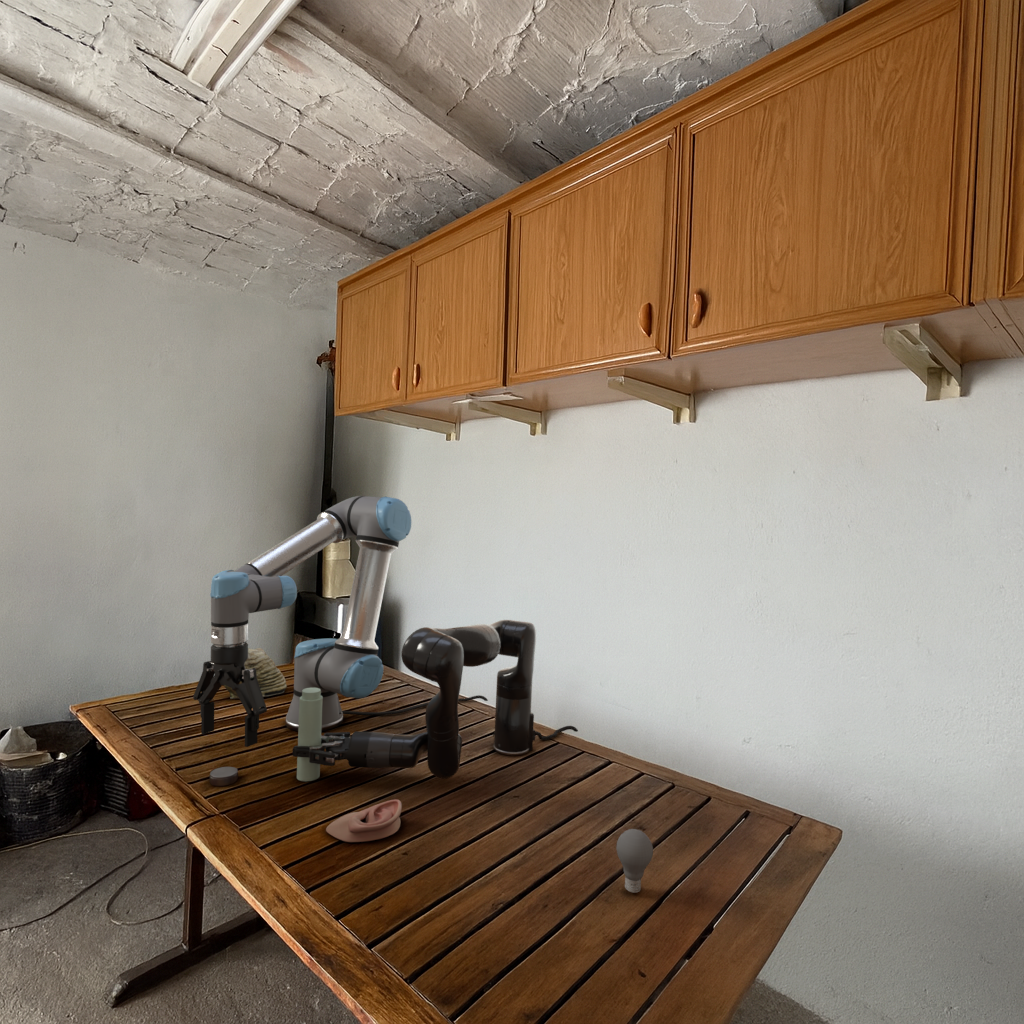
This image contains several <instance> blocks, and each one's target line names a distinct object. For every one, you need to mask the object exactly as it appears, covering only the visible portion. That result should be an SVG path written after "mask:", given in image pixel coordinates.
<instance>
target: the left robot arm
mask: <svg viewBox="0 0 1024 1024" xmlns="http://www.w3.org/2000/svg"><path fill="white" fill-rule="evenodd" d="M411 529H412V514H411V512H410V510H409V508H408V505H407V504H406V503H405V502H404V501H402V500H401V499H399V498H397V497H390V496H366V495H357V496H352V497H348V498H346V499H344V500H342V501H340V502H337V503H336V504H333V505H332V506H331V507H329V508H326V509H325V510H323V511H322V512H320V513H319V514H318V515H317V516H316V520H314V521H313V522H311V523H309V524H308V525H307V526H305V527H303V528H301V529H300V530H298V531H296V532H295V533H293V534H291V535H290V536H289V537H287V538H285V539H284V540H282V541H281V542H279V543H277V544H275V545H274V546H272V547H271V548H269V549H268V550H265V551H264V552H263V553H261V554H259V555H258V556H256V557H255V558H253V559H251V560H249V561H248V562H246V563H245V564H243V565H241V566H240V567H238V568H236V569H226V570H222V571H220V572H218V573H215V574H214V575H213V576H212V578H211V583H210V592H209V593H210V594H209V596H210V643H211V644H212V645H211V646H210V660H207V661H204V662H203V664H202V672H201V675H200V678H199V679H198V682H197V686H196V688H195V690H194V693H193V696H192V698H193V700H194V701H198V705H199V706H200V710H199V711H200V718H201V723H200V724H201V727H200V729H201V733H200V734H201V735H206V734H209V733H211V732H214V731H215V702H214V700H215V699H214V698H215V696H216V695H217V694H218V692H219V690H221V688H222V686H223V687H224V685H226V686H228V687H231V688H232V690H233V691H236V693H237V695H238V697H239V698H238V699H239V700H240V703H241V705H242V706H243V709H244V710H245V712H246V713H247V715H245V716H244V747H245V748H249V747H251V746H253V745H255V744H257V743H258V730H259V728H260V715H262V714H265V713H267V712H268V709H267V706H266V702H265V699H264V697H263V696H262V692H261V689H260V686H259V683H258V680H257V674H256V669H255V668H252V669H246V668H245V665H244V664H245V661H246V660H247V659H248V648H249V644H248V641H249V618H250V617H249V615H250V614H254V613H260V612H266V611H270V610H272V611H273V610H281V609H283V608H287V607H290V606H292V605H293V604H294V603H295V601H296V599H297V597H298V594H297V593H298V588H297V584H296V582H295V580H294V579H293V577H291V576H289V575H285V574H287V573H288V572H290V571H291V570H293V569H294V568H296V567H298V566H299V565H301V564H302V563H304V562H306V561H307V560H308V559H310V558H311V557H313V556H314V555H316V554H317V553H319V552H320V551H322V550H323V549H325V548H327V547H328V546H330V545H331V544H339V543H341V542H342V541H343V540H346V539H350V538H354V537H356V538H355V542H356V544H357V545H358V547H359V551H358V556H357V560H356V565H355V566H356V567H355V571H354V574H353V581H352V584H351V585H352V586H351V591H350V595H349V600H348V605H347V610H346V615H345V620H344V625H343V630H342V634H341V636H340V637H339V638H335V637H334V638H331V637H329V638H315V639H308V640H304V641H301V642H299V643H298V644H297V645H296V646H295V652H294V656H293V658H294V670H293V671H294V672H293V695H292V696H293V697H292V699H291V702H290V704H289V708H288V711H287V713H286V715H285V726H286V728H287V729H289V730H291V731H294V732H295V731H296V732H298V728H299V701H300V697H301V696H302V690H303V689H306V688H319V689H321V694H320V695H321V696H322V697H323V702H322V728H321V732H325V731H329V730H332V729H335V728H337V727H339V726H340V725H342V723H343V722H344V715H354V716H391V715H397V714H403V713H406V712H410V711H412V710H413V711H414V710H416V709H420V708H425V707H427V705H428V703H429V702H430V701H428V702H424V703H421V704H416V705H412V706H409V707H406V708H402V709H398V710H391V711H390V710H389V711H355V710H343V709H342V706H341V702H340V699H339V695H342V696H344V697H346V698H352V699H365V698H367V697H368V696H369V695H371V694H372V693H373V692H374V691H376V690H377V688H378V687H379V685H380V684H381V681H382V679H383V675H384V664H383V661H382V659H381V658H380V657H379V656H378V653H379V646H378V645H377V643H376V642H375V638H376V634H377V630H378V629H377V628H378V624H379V619H380V613H381V608H382V602H383V598H384V593H385V587H386V583H387V578H388V572H389V567H390V563H391V557H392V554H393V553H394V552H395V551H397V550H398V549H399V545H400V542H401V541H403V540H405V539H406V538H407V536H409V534H410V532H411ZM240 682H242V683H241V684H239V683H240ZM338 694H339V695H338ZM464 698H465V699H464ZM477 699H480V700H483V701H484V702H488V701H489V699H488V698H486V696H484V695H479V694H478V695H472V696H470V697H463V698H462V697H461V698H459V699H458V703H459V702H469V701H472V700H477Z"/></svg>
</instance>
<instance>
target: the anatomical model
mask: <svg viewBox="0 0 1024 1024" xmlns="http://www.w3.org/2000/svg"><path fill="white" fill-rule="evenodd" d="M402 808H403V804H402V802H401V800H399V799H391V800H387V801H383V802H380V803H377V804H374V805H372V806H370V807H367V808H365V809H362V810H360V811H353V812H350V813H347V814H344V815H342V816H340V817H338V818H337V819H335V820H333V821H332V822H330V823H329V825H327V826H326V828H325V832H326V833H327V834H329V835H330V836H332V837H333V838H335V839H338V840H340V841H342V842H345V843H360V842H361V843H363V842H371V841H375V840H381V839H384V838H387V837H389V836H392V835H394V834H395V833H397V832H398V831H399V829H400V827H401V824H402V823H401V817H400V816H401V813H402Z"/></svg>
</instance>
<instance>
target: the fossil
mask: <svg viewBox="0 0 1024 1024" xmlns="http://www.w3.org/2000/svg"><path fill="white" fill-rule="evenodd" d="M244 665H245V668H246V669H252V668H255V669H256V674H257V680H258V683H259V686H260V689H261V692H262V696H263V698H264V697H271V696H275V695H281V694H284V693H285V691H286V689H287V687H288V686H287V680H286V678H285V676H284V674H283V673H282V672H281V669H279V668H278V667H277V665H276V663H275V662H274V660H273V659H272V658H271V657H270V656H269V655H268V654H267V653H266V652H265V650H264V649H263V648H260V647H258V648H251V647H248V659H247V660H246V661H245V664H244ZM241 683H242V682H240V683H239V684H241ZM223 687H224V688H225V690H226V691H228V693H229V698H230V699H239V697H238V695H237V693H236V691H233V690H232V688H231V687H228V686H226V685H224V686H223Z"/></svg>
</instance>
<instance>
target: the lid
mask: <svg viewBox="0 0 1024 1024" xmlns="http://www.w3.org/2000/svg"><path fill="white" fill-rule="evenodd" d="M238 771H239V770H238V768H236V767H234V766H221V767H218V768H214V769H213V770H211V771H210V773H209V784H210V785H211V786H215V787H224V786H229V785H232V784H235V782H237V781H238V779H239V772H238Z"/></svg>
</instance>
